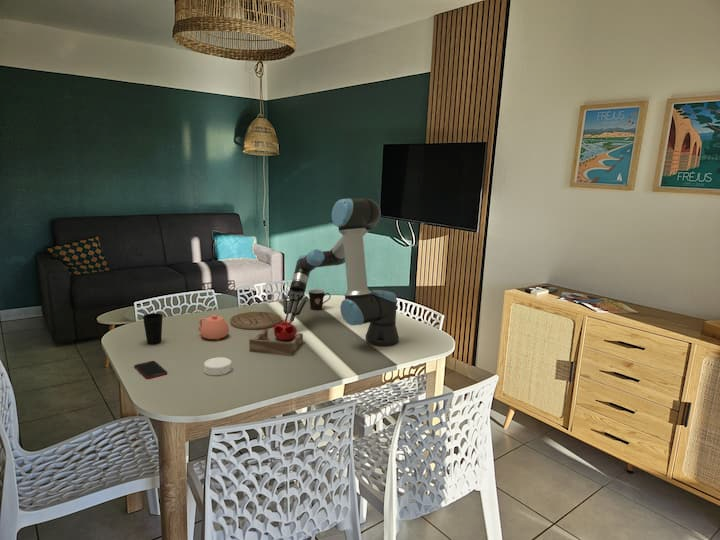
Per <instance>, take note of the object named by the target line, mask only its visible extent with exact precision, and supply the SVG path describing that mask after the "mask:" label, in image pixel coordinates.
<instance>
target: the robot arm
mask: <svg viewBox="0 0 720 540" xmlns="http://www.w3.org/2000/svg"><path fill="white" fill-rule="evenodd" d="M332 207H333V208H332V211H331V221H332V223H333V225H334V226H336V227H337V228H338V232H339V233H340V234H341V235H342V236H341V237H340V239H338V241H337V242H336V243H335V244H334V246H333V247H332V248H331V249H330V250H326V251H322V250H320V249H318V248H316V249H313V250H311V251H310V252H308V253H307V254H304V255H299V257H298V259H297V260H296V264H295V268H294V272H293V275H292V280H291V283H290V285H289V291H288V292H287V293H286V294H284V293H283V294H282V298H283V313H284V315H285V318H284V320H285V319H287V321H288V322H294V321H295V316H300V314H301V312H302V311H303V309H304V307H305V305H306V303H307V302H308V301H310V299H309V296H307V295H306V290H307V285H308V281H309V278H310V273H311V272H312V271H313V270H315V269H316V268H321V267H322V268H323V267H324V268H325V267H330V266H331V267H332V266H340V265H343V264H344V265H345V275H346V285H347V291H346V292H345V293H344V299H343V300H342V301H341V303H340V305H339V306H340V307H339V309H340V314H341V316H342V318H343V320H344V321H345V323H347V324H348V325H350V326H361V325H365V324H369V326H368V328H367V330H366V331H367V332H366V333H365V342H366V343H368V344H370V345H373V346H378V347H390V346H391V347H392V346H395V345H397V344H398V343H399V341H400V340H399V339H400V338H399V333H398V329H397V326H396V323H397V321H396V320H397V307H398V306H397V304H398V302H397V295H396V294H395V292H392V291H388V290H381V289H373V290H370V289H369V288H368V279H367V278H368V277H367V269H366V256H365V246H364V236H365V235H366V234H367V233H368V232H369V231H370V232H371V231H372V230H373V229H374V228H375V227H376V226H377V225H378V223H379V221H380V219H381V216H382V215H381V209H380V206H379V205H378V203H377V202H376V201H375V200H373V199H370V198H368V197H367V198H365V197H364V198H354V197H353V198H350V197H349V198H342V199H339V200H337V201H336V202H335V203H334V206H332ZM288 298H289V301H288ZM288 302H289V303H288ZM289 320H290V321H289ZM288 322H287V323H288ZM290 324H292V323H290Z"/></svg>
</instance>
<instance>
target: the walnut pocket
mask: <svg viewBox="0 0 720 540" xmlns="http://www.w3.org/2000/svg"><path fill="white" fill-rule="evenodd" d="M303 336H304V335H303V333H300V332H299V333H298V334H297V335H295V336H294V338H293V339H292V341H291V342H288V341H287V342H286V341H285V342H284V341H275V340H268V329H263V331H261V332H260V333H258V335H256V336H255V337H254V338H250V339H248V341H249V343H248V344H249V345H248V346H249V347H248V348H249V352H253V353H260V354H261V353H263V354H270V355H281V356H290V357H291V356H292V355H293V354H294V352H295V351H297V349H298V348H299V347H300V346H301V345H302V343H303V341H304V339H303V338H304V337H303Z"/></svg>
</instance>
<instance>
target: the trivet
mask: <svg viewBox="0 0 720 540" xmlns="http://www.w3.org/2000/svg"><path fill="white" fill-rule="evenodd" d="M278 322H279V323H278ZM280 322H282V317H281V316H280V315H278V314H277V313H274V312H268V311H267V312H266V311H249V312H242V313H238V314H236V315H233V316H232V317H230V318H229V325H231V327H234V328H236V329H237V330H238V329H239V330H245V331H246V330H248V331H259V330H260V331H261V330H269V329H271V328H274V327H275V325H277V324H280Z"/></svg>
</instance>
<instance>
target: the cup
mask: <svg viewBox="0 0 720 540" xmlns="http://www.w3.org/2000/svg"><path fill="white" fill-rule="evenodd" d="M142 319H143V324H144V325H143V326H144V331H145V337H146V343H147V345H152V346H154V345H159V344H161V343H162V332H163V314H162V313H157V312H155V313H154V312H152V313H147V314H145V315H142Z"/></svg>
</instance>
